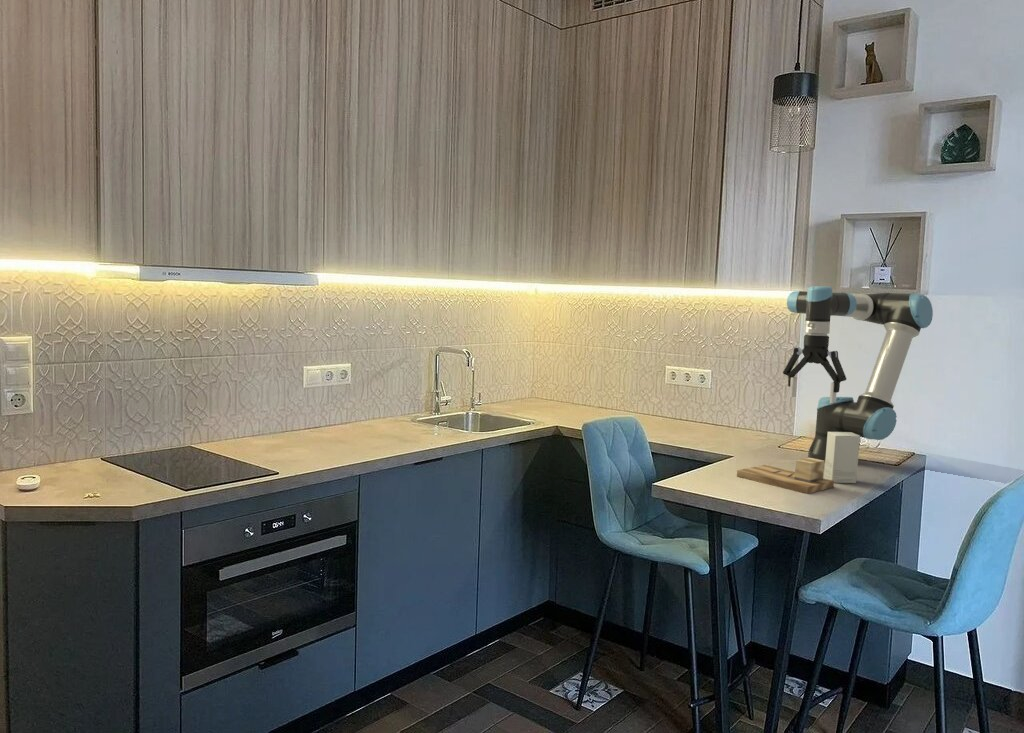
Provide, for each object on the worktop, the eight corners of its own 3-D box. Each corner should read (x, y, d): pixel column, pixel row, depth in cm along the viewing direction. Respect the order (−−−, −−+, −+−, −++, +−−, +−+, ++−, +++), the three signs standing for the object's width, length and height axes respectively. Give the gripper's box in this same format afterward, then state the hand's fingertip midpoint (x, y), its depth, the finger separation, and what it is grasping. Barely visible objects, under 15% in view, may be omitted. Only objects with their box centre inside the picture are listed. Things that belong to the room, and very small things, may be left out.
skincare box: (847, 479, 255) (852, 431, 254) (857, 484, 249) (862, 435, 247) (822, 478, 255) (826, 430, 254) (831, 483, 249) (835, 434, 247)
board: (763, 470, 261) (764, 464, 261) (833, 487, 243) (834, 480, 243) (736, 476, 251) (737, 470, 250) (807, 493, 233) (807, 487, 232)
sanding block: (807, 476, 247) (809, 457, 247) (822, 479, 243) (824, 460, 243) (794, 479, 242) (796, 460, 241) (809, 482, 238) (811, 463, 238)
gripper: (775, 332, 260) (771, 395, 263) (850, 337, 242) (845, 405, 245) (786, 331, 265) (782, 393, 268) (860, 336, 247) (855, 403, 250)
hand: (812, 399), depth 256 cm, fingers open, 13 cm apart
